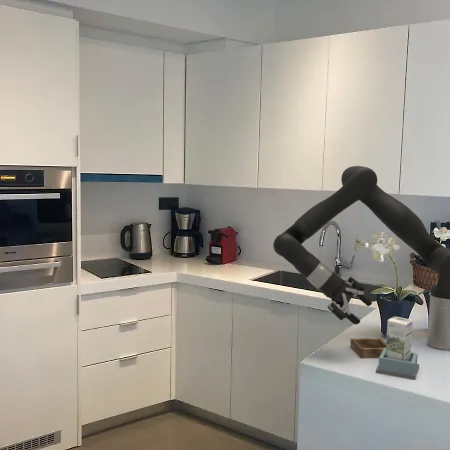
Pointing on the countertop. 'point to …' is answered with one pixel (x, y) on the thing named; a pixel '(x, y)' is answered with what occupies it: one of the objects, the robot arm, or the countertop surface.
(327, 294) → the robot arm
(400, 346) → the syrup box
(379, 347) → the shallow wooden tray
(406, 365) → the socket
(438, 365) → the countertop surface
